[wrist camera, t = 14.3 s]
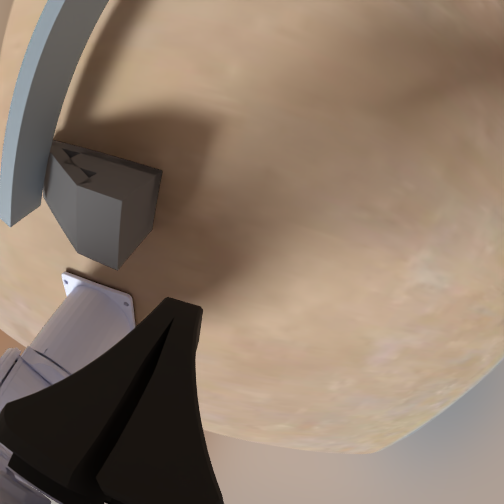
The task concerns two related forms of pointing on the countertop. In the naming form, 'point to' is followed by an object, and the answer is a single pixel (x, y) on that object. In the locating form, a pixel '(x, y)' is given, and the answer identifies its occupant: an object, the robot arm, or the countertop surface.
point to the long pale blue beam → (41, 101)
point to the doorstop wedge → (100, 201)
